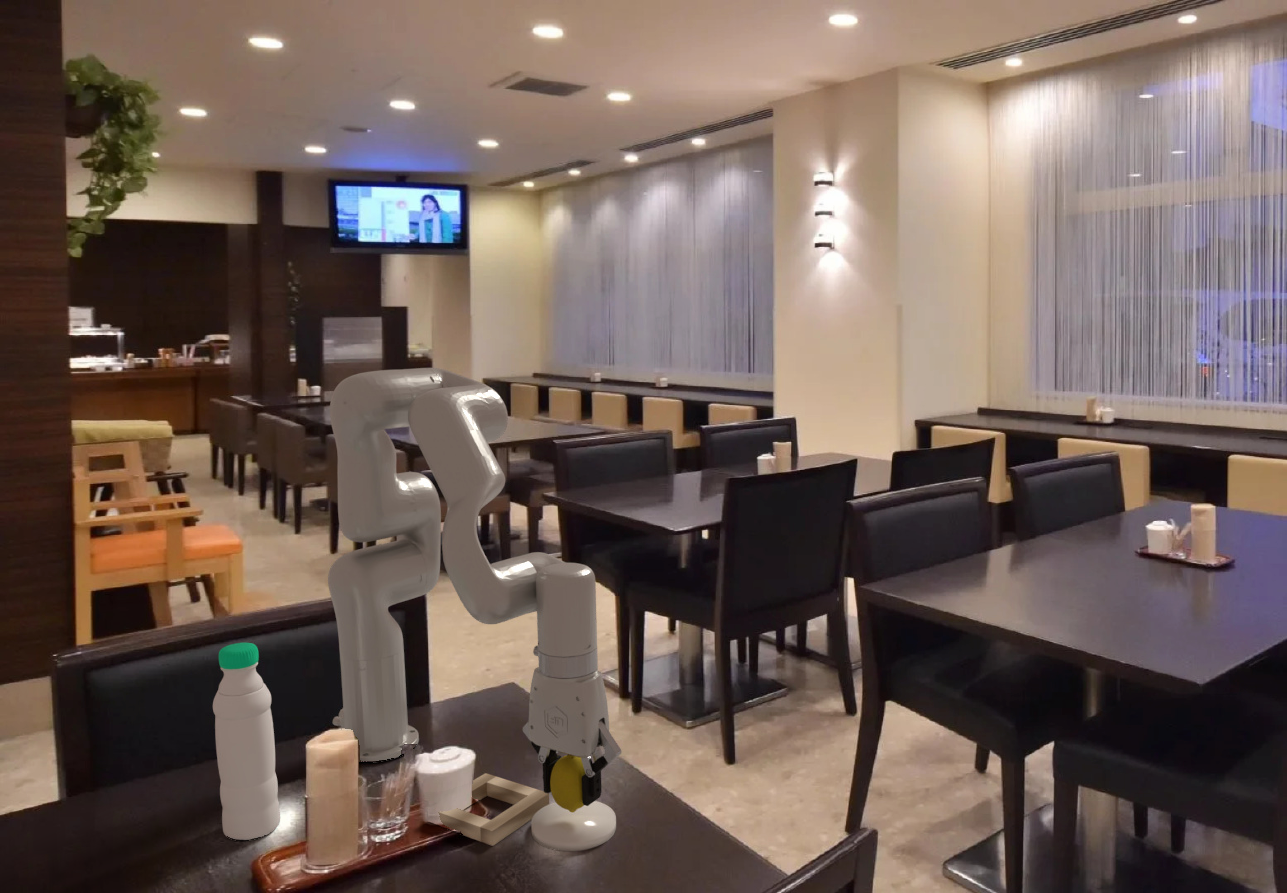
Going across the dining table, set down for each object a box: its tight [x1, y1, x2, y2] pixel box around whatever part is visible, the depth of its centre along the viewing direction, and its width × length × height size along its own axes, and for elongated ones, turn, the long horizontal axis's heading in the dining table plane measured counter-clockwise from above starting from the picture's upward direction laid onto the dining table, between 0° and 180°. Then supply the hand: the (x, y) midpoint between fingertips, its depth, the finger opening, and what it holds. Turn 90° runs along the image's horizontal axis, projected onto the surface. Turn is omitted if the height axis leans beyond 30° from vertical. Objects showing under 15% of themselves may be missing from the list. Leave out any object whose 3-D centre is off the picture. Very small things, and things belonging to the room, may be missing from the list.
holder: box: [438, 772, 550, 847], centre depth 131 cm, size 12×12×2 cm
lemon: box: [550, 754, 586, 812], centre depth 126 cm, size 6×6×8 cm
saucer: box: [530, 800, 617, 852], centre depth 127 cm, size 11×11×1 cm
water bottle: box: [212, 642, 281, 839], centre depth 127 cm, size 7×7×25 cm
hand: (572, 793), depth 127 cm, fingers closed on lemon, 5 cm apart
